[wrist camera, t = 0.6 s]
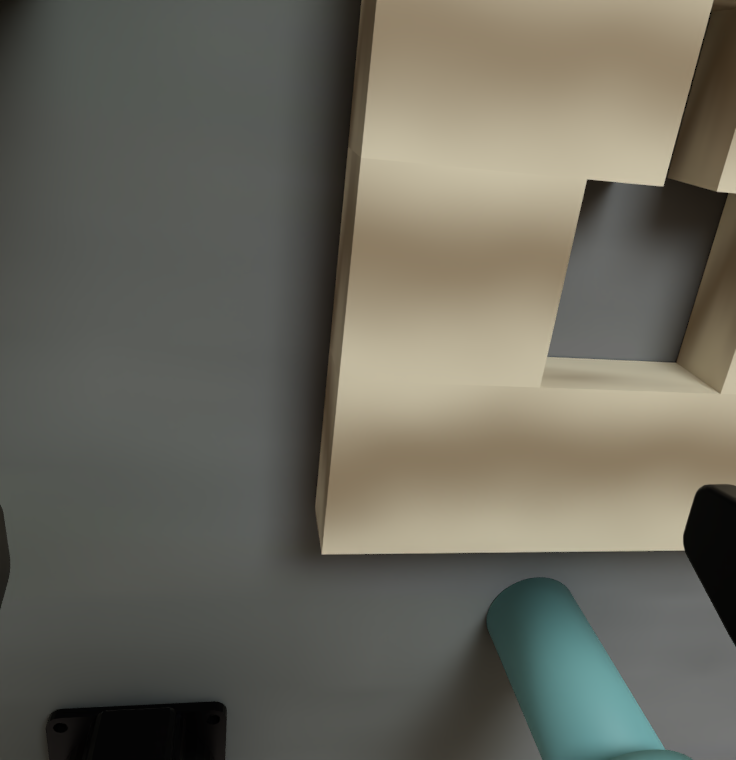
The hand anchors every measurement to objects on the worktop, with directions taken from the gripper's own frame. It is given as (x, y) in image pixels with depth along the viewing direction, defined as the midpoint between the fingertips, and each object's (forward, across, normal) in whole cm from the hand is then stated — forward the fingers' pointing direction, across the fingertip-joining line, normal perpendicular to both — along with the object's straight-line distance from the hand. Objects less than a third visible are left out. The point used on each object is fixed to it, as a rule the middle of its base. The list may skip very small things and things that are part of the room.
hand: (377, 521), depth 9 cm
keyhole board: (+13, -10, 0) cm, 16 cm away
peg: (+13, -10, +14) cm, 21 cm away
